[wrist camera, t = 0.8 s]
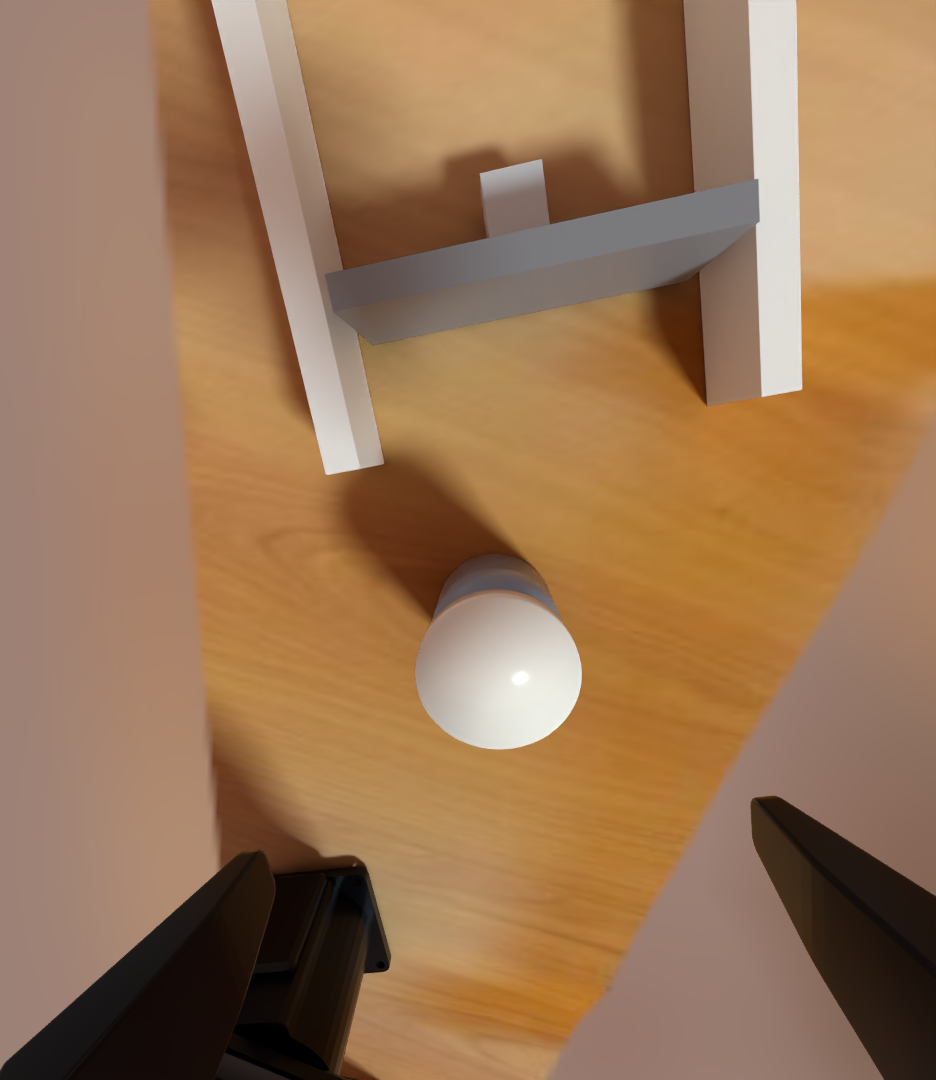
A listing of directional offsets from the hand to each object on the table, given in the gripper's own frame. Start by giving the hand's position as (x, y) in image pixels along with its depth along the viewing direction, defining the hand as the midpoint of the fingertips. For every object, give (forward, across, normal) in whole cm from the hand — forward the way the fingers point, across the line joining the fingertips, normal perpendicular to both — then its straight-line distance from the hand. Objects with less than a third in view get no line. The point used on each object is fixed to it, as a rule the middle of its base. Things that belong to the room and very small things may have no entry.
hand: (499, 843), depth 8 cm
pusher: (+11, -3, -13) cm, 18 cm away
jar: (+12, 0, 0) cm, 12 cm away
